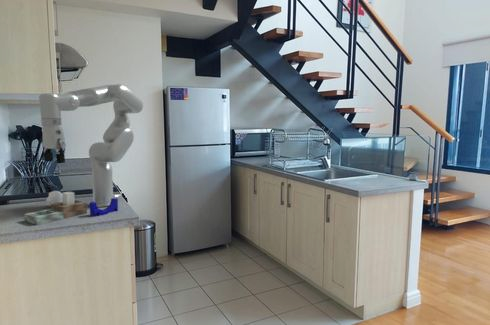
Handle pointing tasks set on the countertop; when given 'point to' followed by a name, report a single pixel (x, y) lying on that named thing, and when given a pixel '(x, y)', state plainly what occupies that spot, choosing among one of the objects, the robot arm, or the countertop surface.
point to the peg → (68, 198)
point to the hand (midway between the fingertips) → (55, 162)
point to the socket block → (56, 212)
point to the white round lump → (54, 197)
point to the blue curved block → (98, 212)
